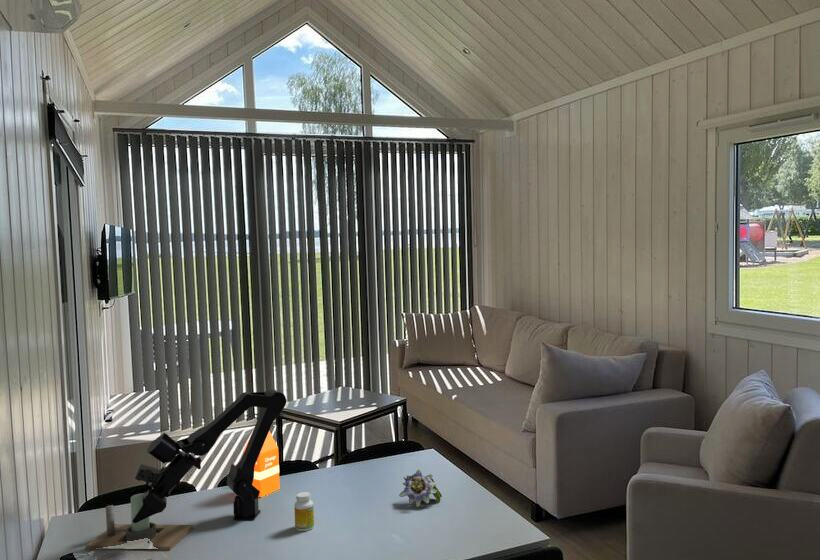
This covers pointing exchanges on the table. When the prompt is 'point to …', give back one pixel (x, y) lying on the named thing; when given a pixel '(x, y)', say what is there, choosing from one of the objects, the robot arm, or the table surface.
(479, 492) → the table surface
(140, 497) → the pale green cylinder
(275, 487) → the orange juice
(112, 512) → the ring holder
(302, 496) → the supplement bottle
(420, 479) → the passion flower
